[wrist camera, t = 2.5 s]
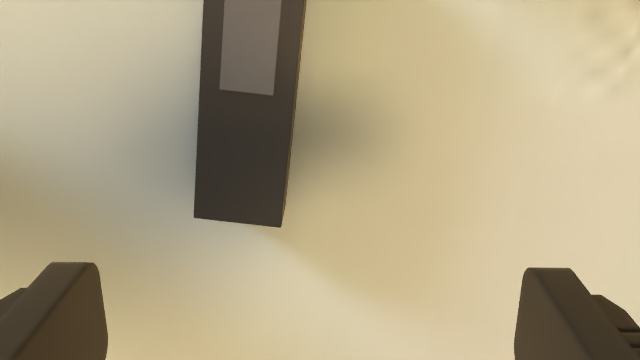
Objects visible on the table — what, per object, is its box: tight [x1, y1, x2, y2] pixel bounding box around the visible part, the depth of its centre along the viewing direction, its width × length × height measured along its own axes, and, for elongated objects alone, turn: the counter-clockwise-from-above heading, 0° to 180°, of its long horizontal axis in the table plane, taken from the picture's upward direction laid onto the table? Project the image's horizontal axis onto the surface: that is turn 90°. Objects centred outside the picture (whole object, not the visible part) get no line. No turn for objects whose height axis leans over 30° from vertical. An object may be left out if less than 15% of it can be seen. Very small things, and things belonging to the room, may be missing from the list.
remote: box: [194, 0, 306, 227], centre depth 30 cm, size 5×16×3 cm, turn 174°
